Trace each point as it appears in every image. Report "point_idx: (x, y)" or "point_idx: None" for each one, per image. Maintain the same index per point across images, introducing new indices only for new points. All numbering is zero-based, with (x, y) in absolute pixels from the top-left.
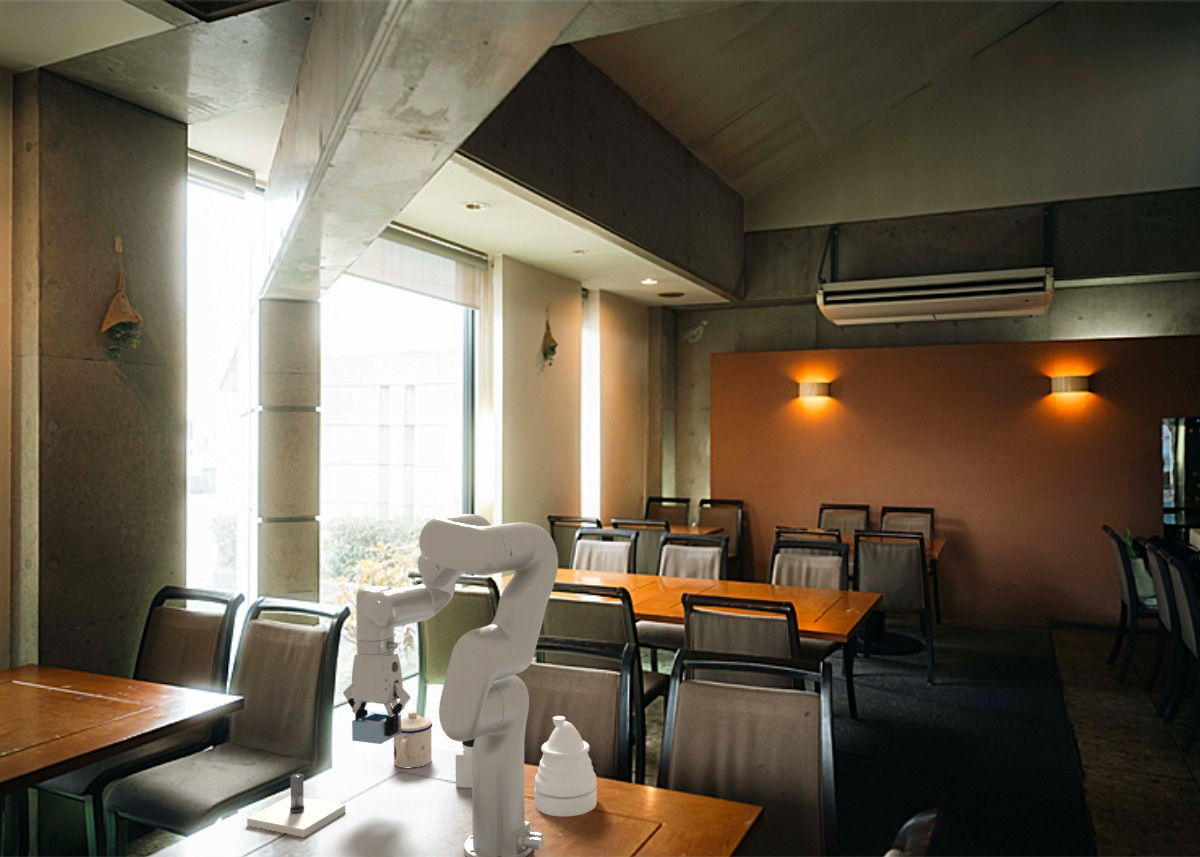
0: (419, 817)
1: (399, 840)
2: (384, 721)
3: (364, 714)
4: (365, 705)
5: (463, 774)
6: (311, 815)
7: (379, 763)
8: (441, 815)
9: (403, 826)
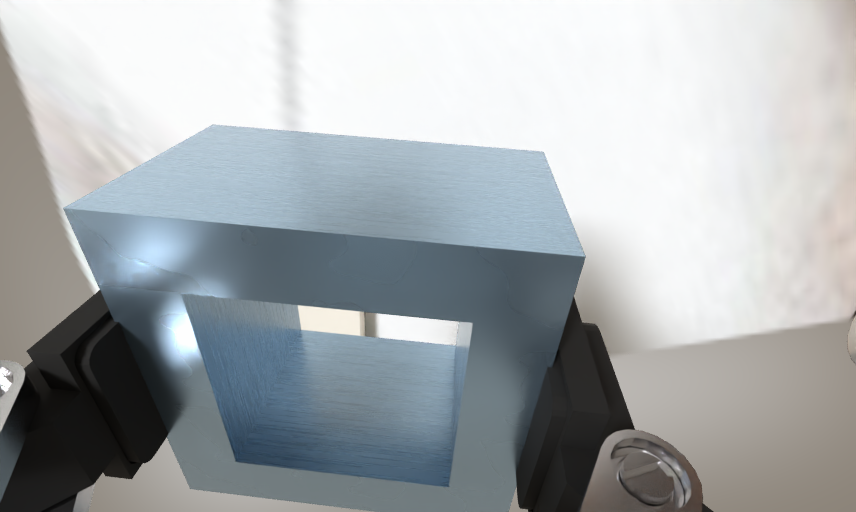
0: (641, 184)
1: (627, 323)
2: (504, 482)
3: (129, 374)
4: (13, 441)
5: None
6: (314, 312)
7: None
8: (728, 147)
9: (607, 253)
